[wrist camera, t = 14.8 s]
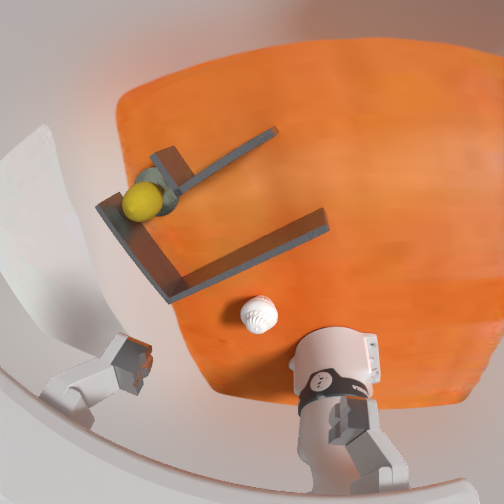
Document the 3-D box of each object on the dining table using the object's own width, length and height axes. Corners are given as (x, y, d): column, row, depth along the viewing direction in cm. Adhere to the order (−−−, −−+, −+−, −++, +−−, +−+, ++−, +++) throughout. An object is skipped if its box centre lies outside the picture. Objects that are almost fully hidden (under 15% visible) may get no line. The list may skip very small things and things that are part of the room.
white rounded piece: (268, 282, 46) (262, 310, 40) (286, 308, 48) (282, 337, 42) (237, 295, 48) (228, 322, 42) (255, 319, 50) (249, 347, 44)
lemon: (148, 213, 43) (122, 234, 36) (136, 181, 41) (106, 198, 34) (176, 204, 41) (152, 225, 34) (164, 171, 39) (136, 185, 32)
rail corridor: (326, 213, 38) (329, 230, 33) (181, 283, 49) (168, 304, 44) (252, 92, 32) (244, 88, 27) (115, 194, 42) (94, 207, 37)
